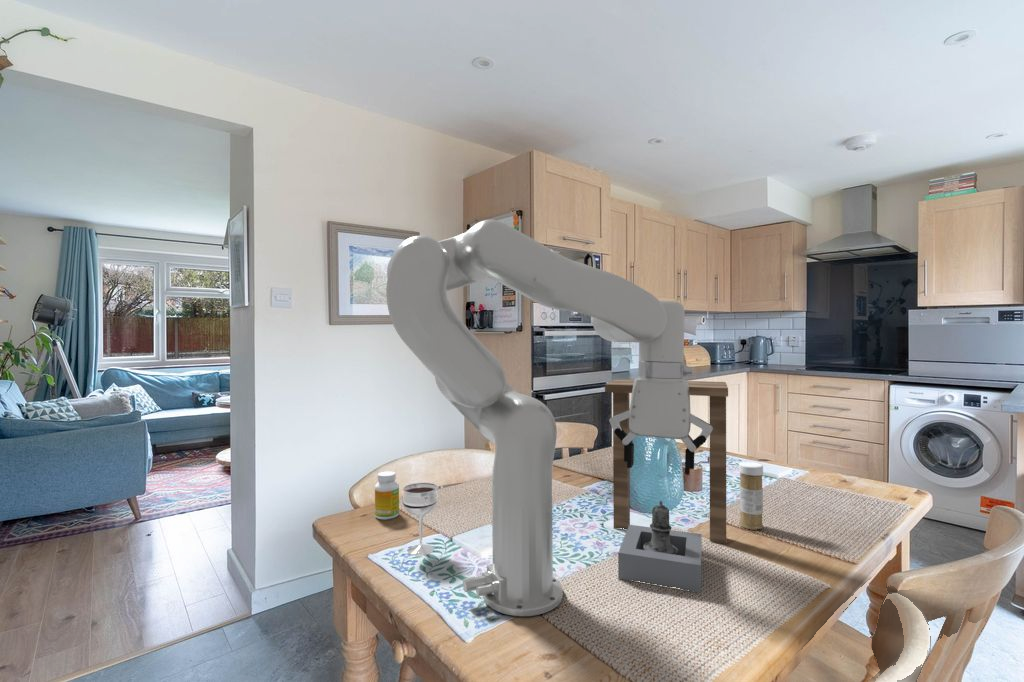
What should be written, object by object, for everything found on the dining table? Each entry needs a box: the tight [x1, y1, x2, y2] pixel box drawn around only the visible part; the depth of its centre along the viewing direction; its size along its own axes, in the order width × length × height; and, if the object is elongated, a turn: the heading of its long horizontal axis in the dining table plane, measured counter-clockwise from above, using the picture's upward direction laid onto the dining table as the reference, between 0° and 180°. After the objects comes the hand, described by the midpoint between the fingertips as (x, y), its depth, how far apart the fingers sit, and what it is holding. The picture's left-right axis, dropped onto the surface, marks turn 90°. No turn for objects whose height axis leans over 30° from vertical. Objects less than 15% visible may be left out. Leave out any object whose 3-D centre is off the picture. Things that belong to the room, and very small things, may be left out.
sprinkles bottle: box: [738, 461, 764, 531], centre depth 104 cm, size 5×5×14 cm
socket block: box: [617, 524, 703, 594], centre depth 86 cm, size 13×13×4 cm
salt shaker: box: [643, 500, 678, 555], centre depth 86 cm, size 6×6×12 cm
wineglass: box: [402, 482, 439, 557], centre depth 94 cm, size 7×7×12 cm
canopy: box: [604, 378, 729, 545], centre depth 97 cm, size 12×22×32 cm, turn 68°
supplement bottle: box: [374, 471, 400, 520], centre depth 112 cm, size 5×5×10 cm
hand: (658, 469), depth 86 cm, fingers open, 9 cm apart
